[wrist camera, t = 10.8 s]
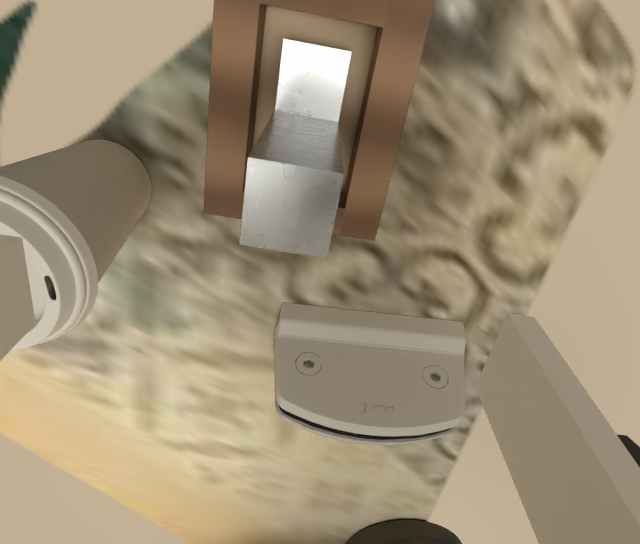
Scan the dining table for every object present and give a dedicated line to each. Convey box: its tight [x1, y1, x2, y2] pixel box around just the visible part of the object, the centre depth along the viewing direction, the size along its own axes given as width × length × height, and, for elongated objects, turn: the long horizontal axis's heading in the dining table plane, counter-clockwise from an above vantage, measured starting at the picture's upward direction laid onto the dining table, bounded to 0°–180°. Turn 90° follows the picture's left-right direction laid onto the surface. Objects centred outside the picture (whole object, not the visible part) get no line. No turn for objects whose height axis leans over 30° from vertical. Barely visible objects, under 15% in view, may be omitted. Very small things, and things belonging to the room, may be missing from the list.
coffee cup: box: [0, 140, 152, 351], centre depth 28 cm, size 10×10×15 cm
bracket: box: [240, 37, 351, 258], centre depth 25 cm, size 8×4×14 cm, turn 170°
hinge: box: [274, 302, 466, 445], centre depth 38 cm, size 17×5×10 cm, turn 83°
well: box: [204, 0, 435, 241], centre depth 30 cm, size 15×12×4 cm
